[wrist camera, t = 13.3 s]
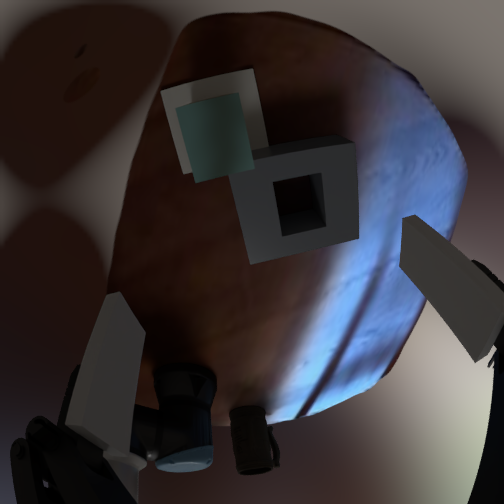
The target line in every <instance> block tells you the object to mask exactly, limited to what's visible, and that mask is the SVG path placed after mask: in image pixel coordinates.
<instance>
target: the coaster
mask: <svg viewBox="0 0 504 504" xmlns="http://www.w3.org/2000/svg"><path fill="white" fill-rule="evenodd" d="M230 93H239V96H240V101H241V106H242V110H243V115H244V119H245V124H246V129H247V133H248V138H249V143H250V147H251V150H255V149H260V148H265V147H269V144H268V139H267V134H266V129H265V124H264V119H263V114H262V109H261V104H260V99H259V94H258V90H257V85H256V80H255V76H254V71H253V69H247V70H242V71H237V72H232V73H227V74H222V75H218V76H213V77H209V78H205V79H201V80H197V81H193V82H190V83H186V84H182V85H179V86H176V87H172V88H169V89H166V90H163V91H161V95H162V99H163V103H164V107H165V110H166V114H167V118H168V121H169V125H170V129H171V132H172V136H173V140H174V143H175V147H176V150H177V154H178V157H179V160H180V164H181V167H182V171H183V174H187V173H190V172H192V168H191V165H190V161H189V158H188V154H187V151H186V147H185V143H184V140H183V136H182V132H181V128H180V125H179V121H178V117H177V113H176V110H175V108H177V107H180V106H183V105H186V104H189V103H192V102H196V101H200V100H204V99H208V98H212V97H216V96H221V95H225V94H230Z"/></svg>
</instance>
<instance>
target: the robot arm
mask: <svg viewBox="0 0 504 504" xmlns="http://www.w3.org/2000/svg"><path fill="white" fill-rule="evenodd" d="M399 267H400V268H401V269H402V270H403V271H404V273H405V274H406V275H407V276H408V277H409V278H410V279H411V281H412V282H413V283H414V284H415V285H416V286H417V288H418V289H419V290H420V291H421V292H422V294H423V295H424V296H425V297H426V298H427V300H428V301H429V302H430V303H431V305H432V306H433V307H434V308H435V309H436V311H437V312H438V313H439V314H440V316H441V317H442V318H443V320H444V321H445V322H446V324H447V325H448V326H449V327H450V329H451V330H452V331H453V333H454V334H455V335H456V337H457V338H458V340H459V341H460V342H461V344H462V345H463V346H464V348H465V349H466V350H467V352H468V353H469V355H470V356H471V358H472V359H473V360H474V362H475V363H476V362H477V361H479V360H480V359H482V358H483V357H485V356H486V355H488V353H489V352H490V350H491V348H492V346H493V344H494V346H495V347H496V348H497V350H496V351H495V353H494V355H493V356H492V358H491V360H490V361H489V363H488V367H490V366H491V365H492V363H493V361H494V366H493V368H494V378H493V391H492V401H491V409H490V416H489V423H488V429H487V434H486V440H485V445H484V449H483V453H482V457H481V461H480V465H479V469H478V473H477V476H476V479H475V483H474V486H473V489H472V492H471V495H470V498H469V501H468V503H467V504H504V284H503V282H501V281H500V280H498V278H497V277H496V276H495V275H494V274H492V272H491V271H490V270H489V269H488V268H487V267H486V266H485V265H483V264H481V263H479V262H478V261H476V260H471V261H470V260H469V259H468V258H467V257H466V256H465V255H464V254H463V253H462V252H460V251H459V250H458V249H457V248H456V247H455V246H453V245H452V244H451V243H450V242H449V241H448V240H446V239H445V238H444V237H443V236H442V235H440V234H439V233H438V232H437V231H435V230H434V229H433V228H432V227H430V226H429V225H428V224H427V223H425V222H424V221H423V220H421V219H420V218H419V217H418V216H416V215H412V216H408V217H405V218H402V238H401V252H400V263H399ZM145 335H146V333H145V331H144V329H143V328H142V326H141V325H140V323H139V322H138V320H137V319H136V317H135V315H134V314H133V312H132V311H131V309H130V307H129V306H128V304H127V302H126V301H125V299H124V297H123V296H122V294H121V292H116V293H112V294H108V295H106V297H105V300H104V302H103V305H102V307H101V310H100V312H99V315H98V318H97V320H96V323H95V326H94V328H93V331H92V334H91V337H90V340H89V342H88V345H87V348H86V351H85V354H84V357H83V360H82V364H81V365H77V366H76V368H75V369H74V371H73V372H72V374H71V376H70V379H69V382H68V388H67V389H66V393H65V395H66V396H64V400H63V403H62V407H61V411H60V415H59V419H58V423H57V426H56V425H54V424H53V423H52V422H50V421H49V420H48V419H46V418H45V417H43V416H37V417H35V418H33V419H32V420H31V421H30V422H29V424H28V426H27V428H26V433H25V434H26V439H24V438H18V439H17V440H15V441H14V442H13V444H12V447H11V450H10V458H11V468H12V476H13V483H14V490H15V495H16V500H17V504H138V472H139V471H140V470H141V469H143V468H144V467H146V465H147V460H152V461H155V465H156V467H157V468H158V469H160V470H164V471H168V472H190V471H197V470H201V469H204V468H207V467H208V466H209V465H211V463H212V461H213V448H214V447H213V442H212V428H211V406H212V403H213V400H214V397H215V394H216V391H217V379H216V377H215V375H214V374H213V373H212V372H210V371H209V370H207V369H205V368H203V367H201V366H197V365H193V364H186V363H175V364H169V365H166V366H163V367H161V368H160V369H158V370H157V371H156V373H155V375H154V388H155V392H156V396H157V399H158V403H159V410H156V409H152V408H149V407H145V406H141V405H138V404H134V403H135V395H136V388H137V382H138V375H139V369H140V363H141V357H142V351H143V345H144V340H145ZM43 480H44V481H46V482H48V486H49V487H48V488H46V487H44V485H43Z"/></svg>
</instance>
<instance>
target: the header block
mask: <svg viewBox="0 0 504 504" xmlns="http://www.w3.org/2000/svg"><path fill="white" fill-rule="evenodd" d="M251 152H252V157H253V162H254V167H255V169H251V170H247V171H243V172H238V173H234V174H230V175H229V180H230V184H231V188H232V192H233V196H234V200H235V204H236V208H237V212H238V216H239V220H240V224H241V228H242V232H243V236H244V240H245V245H246V249H247V253H248V257H249V261H250V265H251V264H255V263H259V262H264V261H268V260H272V259H276V258H281V257H285V256H289V255H293V254H297V253H302V252H306V251H310V250H314V249H318V248H322V247H327V246H331V245H335V244H339V243H343V242H347V241H351V240H355V239H359V201H358V178H357V162H356V149H355V142H352V141H350V140H348V139H346V138H343V137H341V136H339V135H330V136H323V137H317V138H310V139H304V140H298V141H292V142H287V143H281V144H276V145H271V146H269V147H265V148H260V149H255V150H251ZM305 175H309V177H310V185H311V194H312V202H313V209H310V210H306V211H301V212H297V213H292V214H287V215H283V216H279V215H278V210H277V204H276V198H275V193H274V187H273V182H275V181H280V180H285V179H290V178H295V177H300V176H305Z"/></svg>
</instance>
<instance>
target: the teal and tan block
mask: <svg viewBox="0 0 504 504" xmlns="http://www.w3.org/2000/svg"><path fill="white" fill-rule="evenodd" d="M175 110H176V113H177V117H178V121H179V125H180V128H181V132H182V136H183V140H184V143H185V147H186V151H187V154H188V158H189V161H190V165H191V168H192V172H193V175H194V179H195V182H196V183H198V182H201V181H205V180H209V179H213V178H217V177H221V176H225V175H230V174H234V173H238V172H243V171H247V170H251V169H255V167H254V162H253V157H252V152H251V147H250V143H249V138H248V133H247V129H246V124H245V119H244V115H243V110H242V106H241V101H240V96H239V93H230V94H225V95H221V96H216V97H212V98H208V99H204V100H200V101H196V102H192V103H189V104H186V105H183V106H180V107H177V108H175Z"/></svg>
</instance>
